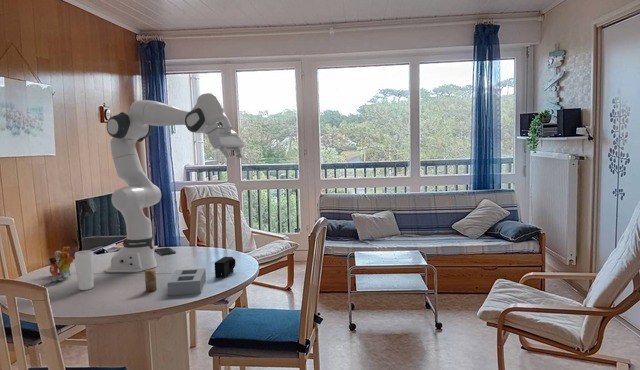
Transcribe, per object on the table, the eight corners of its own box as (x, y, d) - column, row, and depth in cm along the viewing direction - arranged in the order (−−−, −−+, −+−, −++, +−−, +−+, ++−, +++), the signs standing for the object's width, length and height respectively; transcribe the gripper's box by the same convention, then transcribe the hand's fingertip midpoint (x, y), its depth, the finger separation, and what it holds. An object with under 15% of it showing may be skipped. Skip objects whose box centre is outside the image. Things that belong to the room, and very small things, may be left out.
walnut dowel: (144, 292, 174) (143, 272, 174) (147, 289, 178) (146, 269, 178) (155, 291, 175) (154, 271, 174) (157, 288, 179) (156, 268, 178)
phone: (168, 247, 251) (176, 252, 238) (168, 249, 251) (176, 254, 239) (154, 249, 247) (161, 254, 234) (154, 251, 247) (161, 256, 234)
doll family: (57, 272, 206) (55, 244, 205) (80, 270, 209) (78, 242, 208) (48, 285, 186) (46, 254, 185) (74, 282, 190) (72, 252, 189)
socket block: (168, 295, 170) (167, 282, 169) (176, 281, 188) (176, 269, 187) (200, 293, 171) (199, 280, 171) (205, 279, 189) (205, 268, 189)
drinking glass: (83, 292, 176) (80, 254, 175) (73, 289, 180) (70, 253, 178) (99, 287, 182) (96, 251, 181) (89, 285, 185) (87, 249, 184)
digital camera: (226, 278, 191) (226, 262, 190) (215, 278, 192) (214, 262, 191) (236, 271, 201) (235, 256, 200) (224, 271, 202) (224, 256, 201)
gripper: (228, 133, 197) (240, 161, 196) (201, 130, 178) (215, 161, 177) (239, 126, 195) (252, 155, 194) (213, 122, 176) (227, 153, 175)
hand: (234, 158), depth 185 cm, fingers open, 8 cm apart
